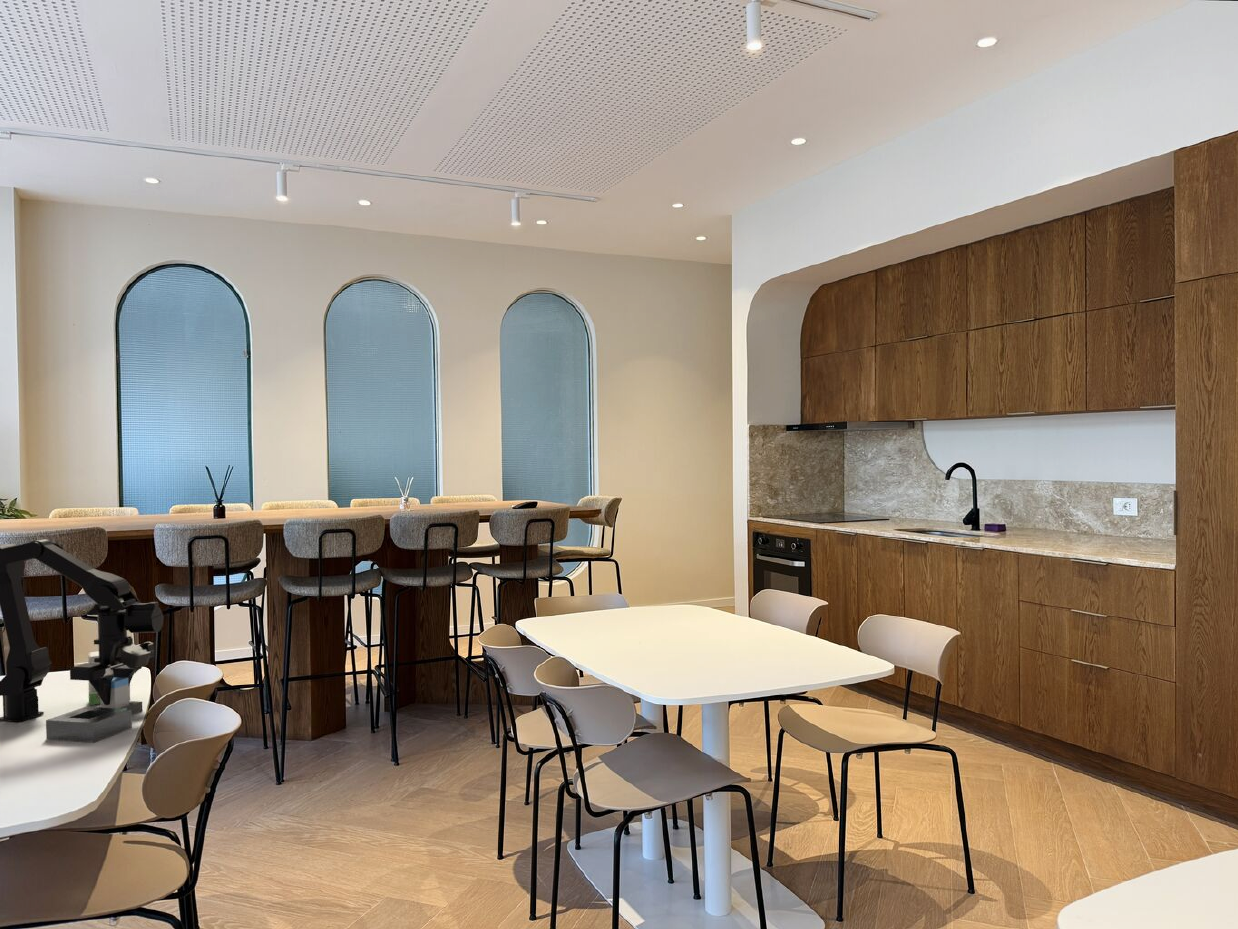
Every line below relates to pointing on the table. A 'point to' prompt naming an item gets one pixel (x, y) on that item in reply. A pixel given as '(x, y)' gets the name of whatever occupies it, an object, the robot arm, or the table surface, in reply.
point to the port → (88, 724)
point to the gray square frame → (132, 706)
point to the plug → (118, 693)
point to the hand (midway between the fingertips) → (114, 702)
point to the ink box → (93, 694)
